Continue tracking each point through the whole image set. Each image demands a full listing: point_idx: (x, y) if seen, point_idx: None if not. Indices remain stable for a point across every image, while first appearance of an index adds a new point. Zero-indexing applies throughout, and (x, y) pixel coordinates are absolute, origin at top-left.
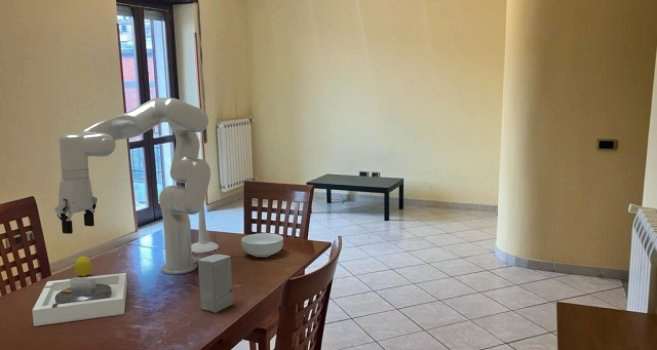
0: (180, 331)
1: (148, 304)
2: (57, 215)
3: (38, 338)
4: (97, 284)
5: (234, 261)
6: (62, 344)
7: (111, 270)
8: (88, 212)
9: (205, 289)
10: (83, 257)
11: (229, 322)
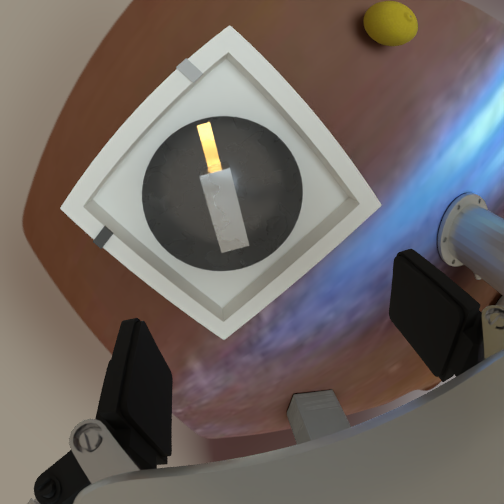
0: (216, 412)
1: (282, 320)
2: (36, 485)
3: (60, 259)
4: (293, 178)
5: (486, 291)
6: (79, 316)
7: (429, 73)
8: (462, 362)
9: (299, 429)
10: (406, 22)
11: (267, 430)
